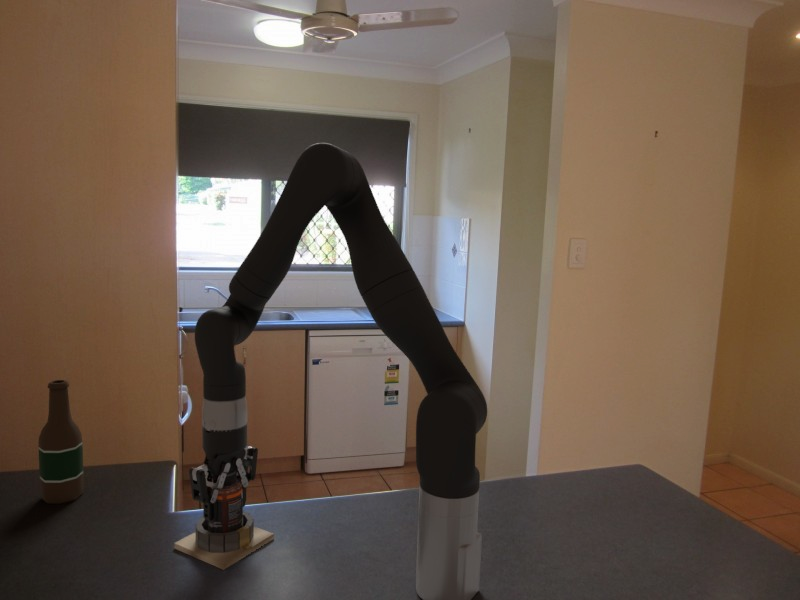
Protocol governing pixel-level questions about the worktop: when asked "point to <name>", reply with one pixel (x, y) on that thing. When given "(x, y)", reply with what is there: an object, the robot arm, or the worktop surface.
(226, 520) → the supplement bottle
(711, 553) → the worktop surface
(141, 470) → the worktop surface
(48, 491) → the beer bottle
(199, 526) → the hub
